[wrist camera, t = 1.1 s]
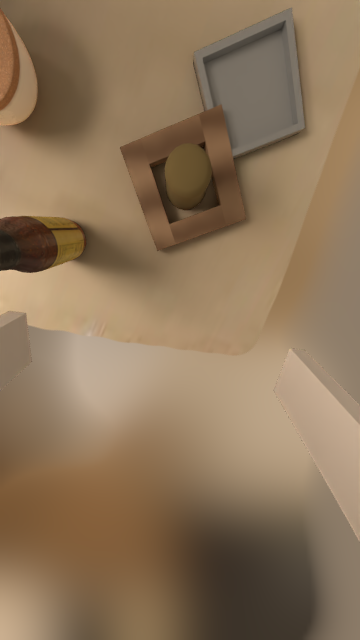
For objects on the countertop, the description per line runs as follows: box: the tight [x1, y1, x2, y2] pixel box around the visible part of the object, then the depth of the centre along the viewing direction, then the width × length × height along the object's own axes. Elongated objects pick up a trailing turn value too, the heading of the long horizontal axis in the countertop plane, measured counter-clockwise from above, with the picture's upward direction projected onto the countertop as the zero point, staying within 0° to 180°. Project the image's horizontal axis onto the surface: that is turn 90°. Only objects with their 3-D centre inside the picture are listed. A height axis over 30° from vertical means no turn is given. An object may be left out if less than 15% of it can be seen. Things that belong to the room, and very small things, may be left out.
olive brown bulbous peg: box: [165, 143, 212, 210], centre depth 29 cm, size 6×6×11 cm
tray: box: [193, 8, 305, 159], centre depth 29 cm, size 12×12×2 cm
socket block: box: [120, 104, 246, 251], centre depth 33 cm, size 14×14×2 cm
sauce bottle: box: [0, 216, 86, 273], centre depth 27 cm, size 7×6×20 cm
